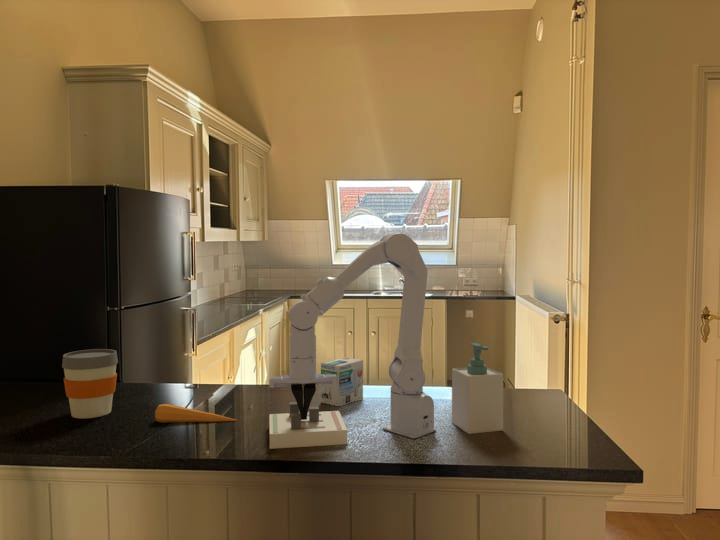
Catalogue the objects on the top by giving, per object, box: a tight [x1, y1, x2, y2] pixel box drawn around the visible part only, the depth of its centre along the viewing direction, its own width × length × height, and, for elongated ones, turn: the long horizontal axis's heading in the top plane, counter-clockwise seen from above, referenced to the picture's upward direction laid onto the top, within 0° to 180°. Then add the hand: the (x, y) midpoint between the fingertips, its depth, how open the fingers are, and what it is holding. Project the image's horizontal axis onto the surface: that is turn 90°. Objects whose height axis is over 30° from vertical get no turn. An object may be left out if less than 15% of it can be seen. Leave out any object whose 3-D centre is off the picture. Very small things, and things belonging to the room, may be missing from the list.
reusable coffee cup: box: [61, 348, 119, 419], centre depth 138 cm, size 13×13×15 cm
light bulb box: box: [320, 356, 364, 407], centre depth 149 cm, size 11×7×11 cm, turn 143°
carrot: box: [154, 403, 240, 423], centre depth 132 cm, size 20×4×4 cm, turn 90°
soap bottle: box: [451, 342, 504, 435], centre depth 127 cm, size 9×9×19 cm
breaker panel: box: [268, 401, 348, 450], centre depth 121 cm, size 16×14×6 cm
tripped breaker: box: [308, 405, 320, 421], centre depth 122 cm, size 2×2×3 cm
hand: (303, 418), depth 121 cm, fingers closed
